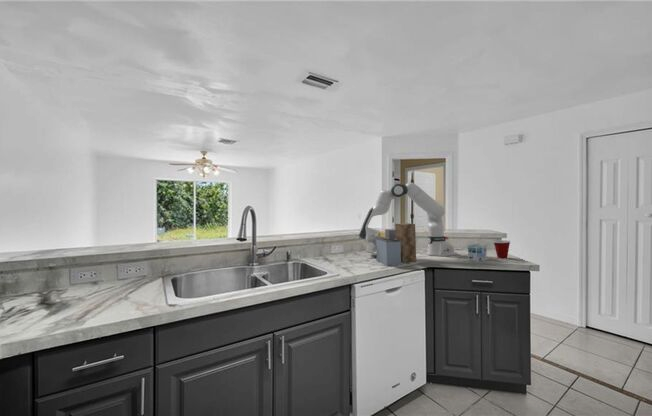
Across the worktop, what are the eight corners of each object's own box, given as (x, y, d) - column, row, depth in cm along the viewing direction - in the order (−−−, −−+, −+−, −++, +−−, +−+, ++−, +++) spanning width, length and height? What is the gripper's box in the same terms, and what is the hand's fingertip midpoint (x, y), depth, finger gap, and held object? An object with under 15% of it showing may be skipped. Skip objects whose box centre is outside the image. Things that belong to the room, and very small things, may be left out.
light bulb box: (477, 262, 188) (476, 245, 188) (467, 260, 194) (467, 244, 194) (487, 260, 193) (486, 244, 193) (477, 258, 199) (477, 243, 199)
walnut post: (409, 259, 204) (408, 223, 204) (416, 262, 194) (415, 224, 194) (396, 260, 202) (395, 223, 202) (402, 263, 192) (401, 224, 192)
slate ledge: (389, 259, 205) (389, 237, 205) (401, 264, 188) (400, 240, 187) (376, 260, 203) (376, 238, 203) (386, 265, 186) (386, 241, 186)
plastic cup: (491, 256, 207) (491, 239, 206) (508, 256, 203) (508, 239, 203) (494, 259, 196) (494, 241, 196) (513, 259, 193) (512, 241, 193)
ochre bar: (384, 235, 208) (384, 227, 208) (395, 238, 188) (395, 229, 188) (377, 236, 207) (377, 227, 207) (388, 239, 187) (388, 230, 187)
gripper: (362, 237, 216) (367, 230, 204) (388, 236, 220) (394, 228, 208) (364, 245, 213) (369, 238, 201) (390, 244, 217) (396, 236, 205)
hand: (382, 233), depth 204 cm, fingers closed on ochre bar, 3 cm apart
